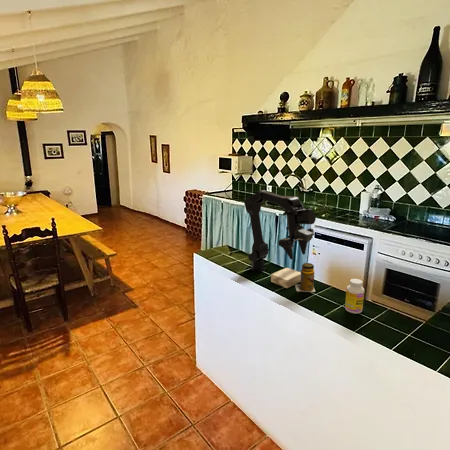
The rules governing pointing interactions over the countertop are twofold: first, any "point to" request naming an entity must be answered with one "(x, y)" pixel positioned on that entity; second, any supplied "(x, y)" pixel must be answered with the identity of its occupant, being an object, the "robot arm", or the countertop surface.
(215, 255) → the countertop surface
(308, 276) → the condiment
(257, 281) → the countertop surface
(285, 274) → the wooden block
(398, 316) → the countertop surface
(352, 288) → the supplement bottle
